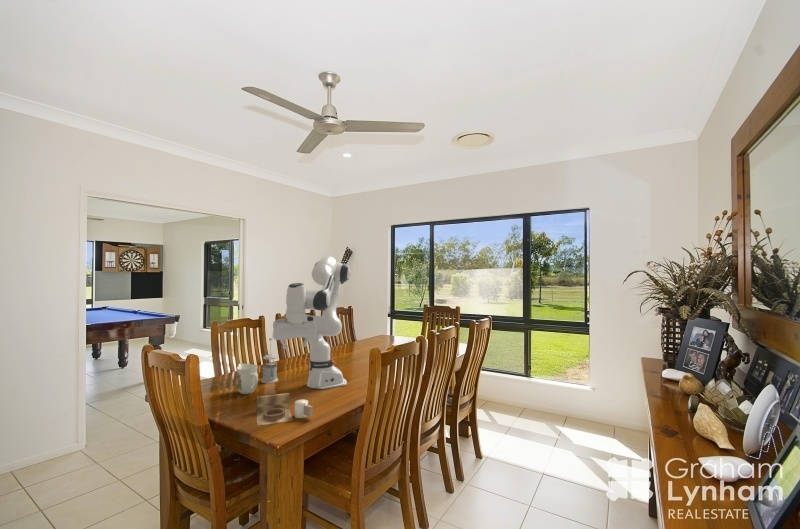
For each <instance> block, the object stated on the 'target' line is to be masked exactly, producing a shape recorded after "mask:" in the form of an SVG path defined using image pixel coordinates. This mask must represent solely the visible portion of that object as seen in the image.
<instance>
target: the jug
mask: <svg viewBox="0 0 800 529" xmlns="http://www.w3.org/2000/svg"><path fill="white" fill-rule="evenodd" d="M313 416H314V406H313V405H311V404H309V400H307V399H297V400H295V401H294V417H295V418H296V419H304V418H307V417H309V418H310V417H311V418H312V417H313Z"/></svg>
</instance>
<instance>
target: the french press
mask: <svg viewBox="0 0 800 529" xmlns="http://www.w3.org/2000/svg"><path fill="white" fill-rule="evenodd" d="M268 341H270V344H269V345H270V346H269V351H270V352H269V354H266V355H264V356H262V359H263V360H268V361H269V362H265V363H263V366H262V379H261V380H260V382H261V383H262V384H263V383H264V384H271V383H276V382H278V381H279V378H278V375H277V373H278V371H277V370H278V365H277V362H275V361H274V360H275V359H277V358H278V355H276V354H273V353H272V352H271V350H272V349H271V346H272V344H271V343H272V341H273V337H269V339H268ZM271 353H272V354H271ZM271 360H272V362H271Z"/></svg>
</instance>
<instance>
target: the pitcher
mask: <svg viewBox="0 0 800 529" xmlns="http://www.w3.org/2000/svg"><path fill="white" fill-rule="evenodd" d="M258 368H259V366H258V365H257V364H251V363H243V362H242V363H238V365H237V366H236V371H237V372H236V376H235V386H236V389H237V391H238V392H239V393H240V394H241V395H247V394H252V393H253V392H254V391H255V390H256V388H257V386H258V382H259V375H258Z"/></svg>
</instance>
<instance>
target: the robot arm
mask: <svg viewBox="0 0 800 529" xmlns="http://www.w3.org/2000/svg"><path fill="white" fill-rule="evenodd" d="M351 271H352V269H351V266H350V265H349V264H346V263H342V262H337V261H336V259H335V257H332V256H331V255H326V256H323V257H322V258H320V260H318V261H317V262H315V264H314V266H313V268H312V270H311V278H312V280H313V281H314V282H315V283H316V284H318V285H319V286H323V287H322V288H321V289H307V288H306V286H305V284H304V283H301V282H295V283H290V284H289V285H288V286H287V289H286V297H285V304H286V310H285V318H278V319H276V320H274V321H273V322H272V327H273V330H272V340H273V339H274V341H279V342H280V343H281V344H282V349H283V350H287V349H288V344H286V343H285V342H286V340H291V339H300V338H304V339H305V340H304V341H303V342H301V343H302V346H301V347H304V348H306V347H307V346H308V343H309V356H310V357H309V362H308V363H309V364H308V371H309V374H308V379H307V383H306V386H307V387H308V388H312V389H318V390H328V389H332V388H338V387H343V386H347V385H348V381H347V379H346V378H344V376H343V373H342V371H341V370H340V369H339V368H338V367H336V366H335V365H336V361H335V360H333V359H331V345H330V344H329V343H328V342H327V341H326V340H325V339H324V337H335V336H338V335H340V333H341V331H342V329H343V324H342V320H341V319H340V318H339V317H338V314H337V306H338V301H339V298H340V295H341V289H342V287H341V286H342V285H343V284H344V283H346V282H347V281H349V279H350V276H351V275H352V274H351V273H352V272H351ZM306 310H313V311H314V310H316V311H321V312H322V313H321V314H322V315H310V314H306Z"/></svg>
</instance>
